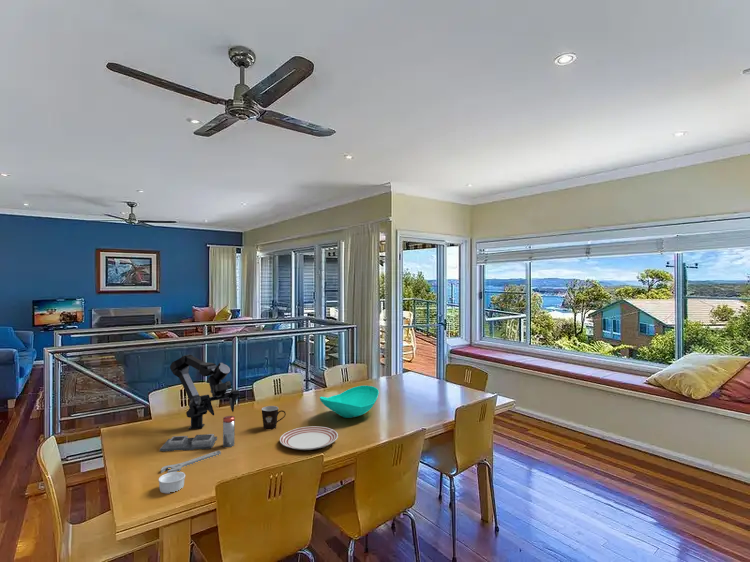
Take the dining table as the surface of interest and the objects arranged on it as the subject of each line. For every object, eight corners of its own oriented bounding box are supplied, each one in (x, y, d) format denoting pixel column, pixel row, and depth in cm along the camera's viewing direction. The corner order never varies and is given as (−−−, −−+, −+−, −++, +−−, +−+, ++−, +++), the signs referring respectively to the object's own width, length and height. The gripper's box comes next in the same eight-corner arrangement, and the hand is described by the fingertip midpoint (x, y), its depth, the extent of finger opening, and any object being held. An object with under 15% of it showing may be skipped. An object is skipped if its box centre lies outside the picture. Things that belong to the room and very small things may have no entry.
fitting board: (168, 441, 195) (168, 434, 195) (217, 439, 198) (217, 432, 198) (159, 451, 183) (159, 444, 183) (211, 448, 186) (211, 441, 186)
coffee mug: (257, 429, 212) (258, 409, 212) (267, 423, 220) (267, 405, 220) (277, 432, 208) (277, 412, 208) (286, 426, 216) (286, 407, 216)
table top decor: (342, 431, 210) (343, 405, 211) (307, 419, 228) (307, 395, 228) (390, 412, 241) (390, 390, 241) (355, 403, 259) (355, 382, 259)
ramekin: (167, 482, 156) (167, 470, 156) (189, 483, 155) (190, 471, 155) (152, 494, 147) (153, 481, 147) (176, 495, 146) (176, 483, 146)
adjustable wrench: (218, 453, 183) (219, 449, 183) (225, 457, 178) (226, 453, 178) (159, 471, 164) (159, 467, 164) (165, 477, 160) (165, 472, 160)
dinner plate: (286, 458, 177) (286, 451, 177) (274, 436, 202) (275, 430, 202) (345, 449, 188) (346, 441, 188) (328, 429, 213) (328, 423, 213)
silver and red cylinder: (224, 443, 192) (224, 416, 193) (235, 443, 193) (235, 415, 193) (221, 448, 188) (222, 419, 188) (233, 447, 188) (233, 419, 188)
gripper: (200, 378, 195) (207, 407, 186) (238, 373, 206) (247, 400, 198) (195, 392, 201) (201, 420, 192) (233, 386, 212) (240, 412, 204)
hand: (223, 413), depth 196 cm, fingers open, 9 cm apart
